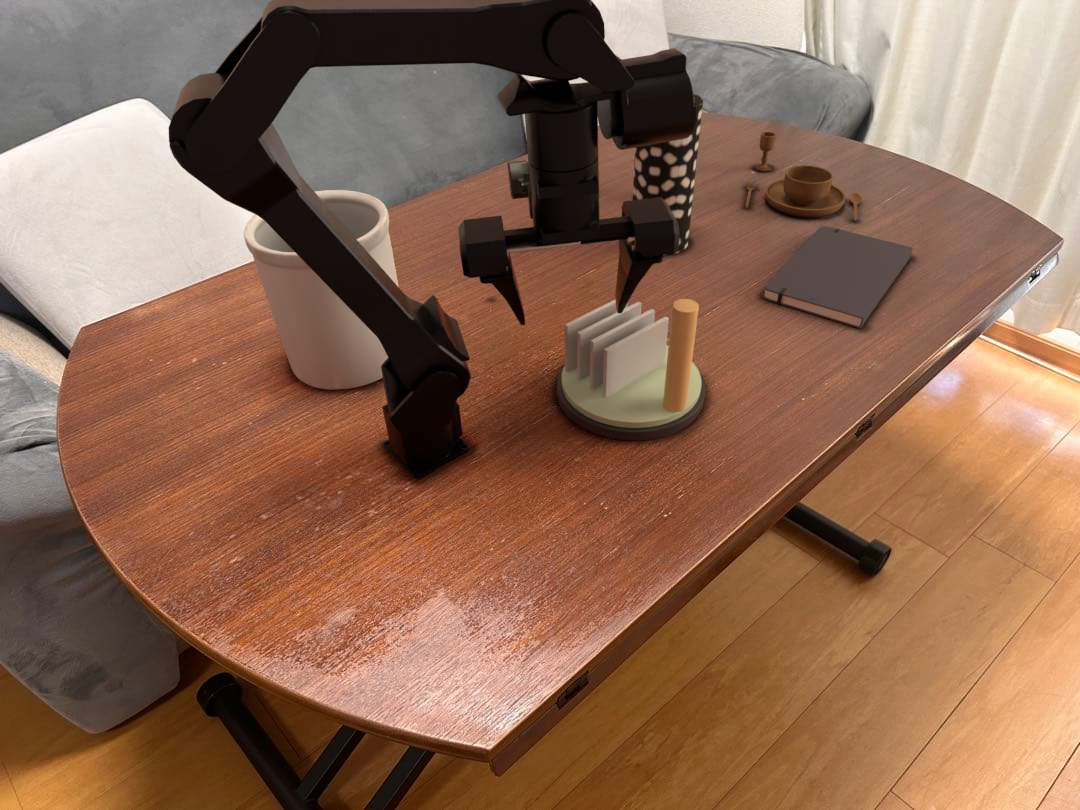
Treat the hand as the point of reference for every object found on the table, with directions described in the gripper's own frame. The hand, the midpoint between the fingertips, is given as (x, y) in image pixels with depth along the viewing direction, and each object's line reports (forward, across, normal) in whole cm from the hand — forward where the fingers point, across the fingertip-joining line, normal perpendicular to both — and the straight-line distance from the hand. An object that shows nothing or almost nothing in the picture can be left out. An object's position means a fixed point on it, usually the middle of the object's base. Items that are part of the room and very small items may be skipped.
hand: (570, 316), depth 72 cm
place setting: (+16, -44, -50) cm, 68 cm away
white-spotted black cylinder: (+15, -18, -37) cm, 44 cm away
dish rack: (+12, -7, -3) cm, 14 cm away
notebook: (+15, -39, -23) cm, 48 cm away
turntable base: (+13, -6, -3) cm, 15 cm away
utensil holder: (+12, +25, -15) cm, 32 cm away
